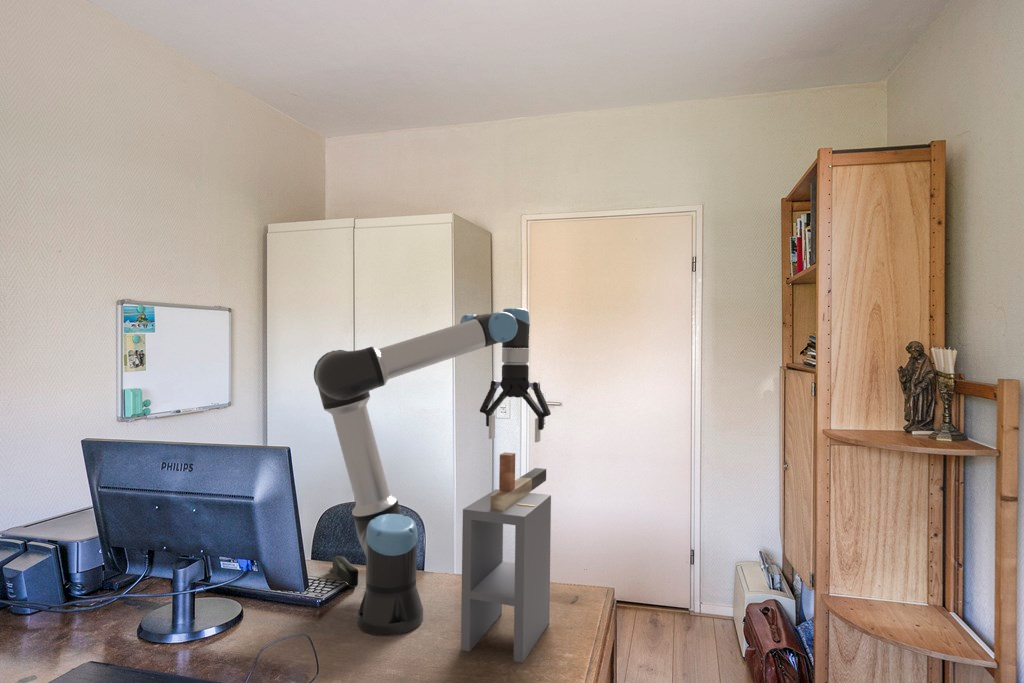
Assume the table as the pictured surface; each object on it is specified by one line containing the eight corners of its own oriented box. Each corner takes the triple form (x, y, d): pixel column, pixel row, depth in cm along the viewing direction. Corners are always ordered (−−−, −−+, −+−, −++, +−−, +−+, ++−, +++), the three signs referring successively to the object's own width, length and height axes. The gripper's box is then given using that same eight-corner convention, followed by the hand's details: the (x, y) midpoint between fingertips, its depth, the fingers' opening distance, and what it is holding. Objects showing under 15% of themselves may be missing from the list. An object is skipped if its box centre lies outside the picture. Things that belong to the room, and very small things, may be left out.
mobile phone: (360, 568, 159) (337, 551, 171) (349, 570, 158) (327, 553, 169) (359, 586, 160) (337, 568, 171) (349, 589, 158) (327, 570, 169)
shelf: (460, 649, 127) (462, 508, 127) (494, 612, 144) (495, 488, 145) (522, 662, 122) (524, 515, 122) (549, 622, 140) (551, 494, 140)
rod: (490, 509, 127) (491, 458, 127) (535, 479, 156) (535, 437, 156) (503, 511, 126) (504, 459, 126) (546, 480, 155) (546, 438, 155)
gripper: (562, 364, 165) (561, 441, 165) (479, 362, 173) (478, 435, 173) (554, 365, 158) (553, 445, 157) (468, 363, 166) (467, 438, 166)
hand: (514, 440), depth 165 cm, fingers open, 13 cm apart
